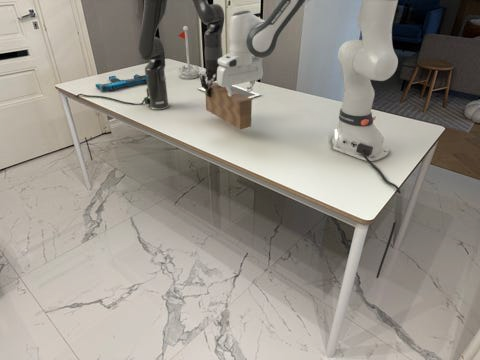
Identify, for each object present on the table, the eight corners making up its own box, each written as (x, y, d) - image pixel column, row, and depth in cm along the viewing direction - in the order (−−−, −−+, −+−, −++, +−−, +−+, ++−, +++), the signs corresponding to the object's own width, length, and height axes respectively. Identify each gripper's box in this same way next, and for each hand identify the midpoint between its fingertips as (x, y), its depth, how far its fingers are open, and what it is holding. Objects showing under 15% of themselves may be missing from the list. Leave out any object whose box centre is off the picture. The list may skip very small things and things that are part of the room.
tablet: (198, 89, 198) (198, 88, 197) (225, 82, 209) (225, 81, 209) (233, 103, 177) (233, 103, 177) (261, 95, 188) (261, 94, 188)
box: (251, 126, 143) (251, 99, 137) (240, 129, 140) (240, 102, 134) (216, 107, 162) (215, 82, 155) (206, 110, 159) (204, 84, 152)
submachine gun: (140, 69, 224) (158, 75, 207) (141, 74, 225) (159, 81, 209) (88, 79, 205) (103, 86, 188) (89, 85, 207) (105, 93, 190)
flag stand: (196, 72, 226) (193, 23, 210) (202, 77, 216) (198, 27, 200) (177, 74, 223) (172, 25, 206) (181, 80, 212) (177, 28, 196)
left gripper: (223, 53, 150) (223, 90, 160) (194, 57, 143) (197, 96, 152) (232, 56, 145) (233, 94, 154) (203, 61, 138) (205, 101, 147)
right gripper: (256, 53, 137) (255, 86, 144) (213, 60, 126) (215, 96, 134) (266, 56, 132) (265, 90, 140) (223, 63, 122) (224, 100, 130)
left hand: (215, 95), depth 153 cm, fingers closed on box, 5 cm apart
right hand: (240, 93), depth 137 cm, fingers open, 8 cm apart
